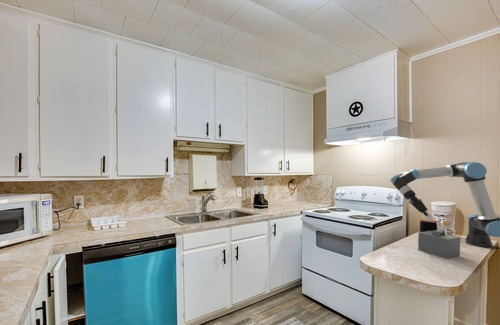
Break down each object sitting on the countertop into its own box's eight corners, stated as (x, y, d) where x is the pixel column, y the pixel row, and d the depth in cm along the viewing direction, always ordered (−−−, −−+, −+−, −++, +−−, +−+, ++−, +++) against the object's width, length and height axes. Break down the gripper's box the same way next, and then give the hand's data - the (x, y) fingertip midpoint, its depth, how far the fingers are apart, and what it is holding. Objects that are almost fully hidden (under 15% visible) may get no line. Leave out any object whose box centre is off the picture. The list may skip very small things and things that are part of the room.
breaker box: (429, 247, 175) (429, 226, 176) (459, 255, 159) (460, 233, 159) (418, 249, 169) (418, 228, 169) (448, 259, 153) (449, 235, 153)
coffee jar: (440, 245, 180) (440, 221, 180) (425, 245, 180) (426, 221, 180) (429, 241, 190) (430, 218, 191) (416, 240, 191) (416, 217, 191)
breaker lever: (438, 231, 167) (448, 220, 162) (441, 234, 165) (452, 223, 160) (433, 232, 165) (444, 221, 159) (437, 235, 163) (447, 223, 158)
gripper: (408, 195, 188) (432, 221, 174) (398, 195, 182) (422, 223, 168) (416, 189, 184) (441, 215, 169) (406, 189, 178) (431, 217, 163)
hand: (431, 219), depth 168 cm, fingers closed
